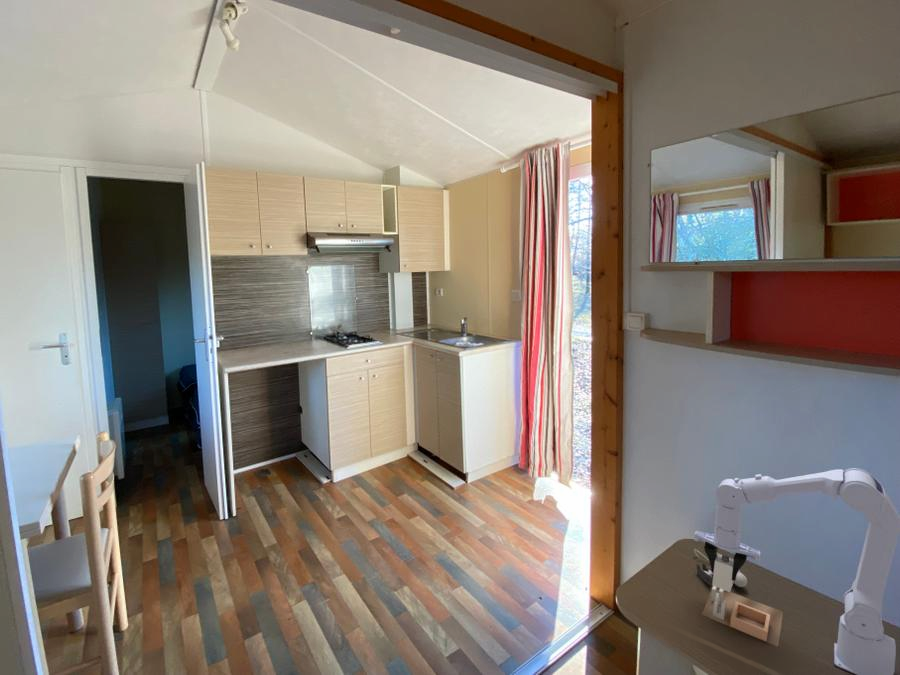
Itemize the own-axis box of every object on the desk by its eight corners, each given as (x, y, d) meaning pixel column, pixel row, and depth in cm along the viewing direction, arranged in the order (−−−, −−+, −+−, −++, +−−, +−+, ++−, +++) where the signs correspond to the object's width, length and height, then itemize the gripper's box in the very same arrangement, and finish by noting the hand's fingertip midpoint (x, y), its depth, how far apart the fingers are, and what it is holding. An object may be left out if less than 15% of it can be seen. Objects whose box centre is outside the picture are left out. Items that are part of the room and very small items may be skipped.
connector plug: (732, 584, 118) (735, 556, 117) (729, 592, 115) (733, 563, 114) (715, 577, 121) (718, 550, 120) (712, 585, 118) (715, 556, 117)
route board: (783, 615, 117) (783, 611, 117) (777, 650, 105) (778, 646, 105) (712, 588, 127) (713, 585, 127) (701, 618, 116) (701, 614, 115)
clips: (729, 601, 120) (730, 589, 120) (723, 620, 114) (724, 607, 113) (713, 594, 123) (714, 583, 122) (706, 612, 116) (707, 600, 116)
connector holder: (769, 623, 112) (770, 614, 112) (766, 641, 107) (767, 631, 106) (734, 610, 117) (735, 601, 117) (730, 626, 111) (730, 617, 111)
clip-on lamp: (685, 566, 142) (707, 591, 124) (683, 545, 143) (704, 567, 125) (726, 567, 140) (754, 592, 122) (723, 545, 141) (751, 568, 123)
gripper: (763, 529, 114) (758, 579, 116) (699, 511, 124) (696, 557, 125) (759, 541, 109) (755, 593, 111) (693, 521, 119) (690, 569, 120)
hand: (723, 575), depth 118 cm, fingers closed on connector plug, 4 cm apart
